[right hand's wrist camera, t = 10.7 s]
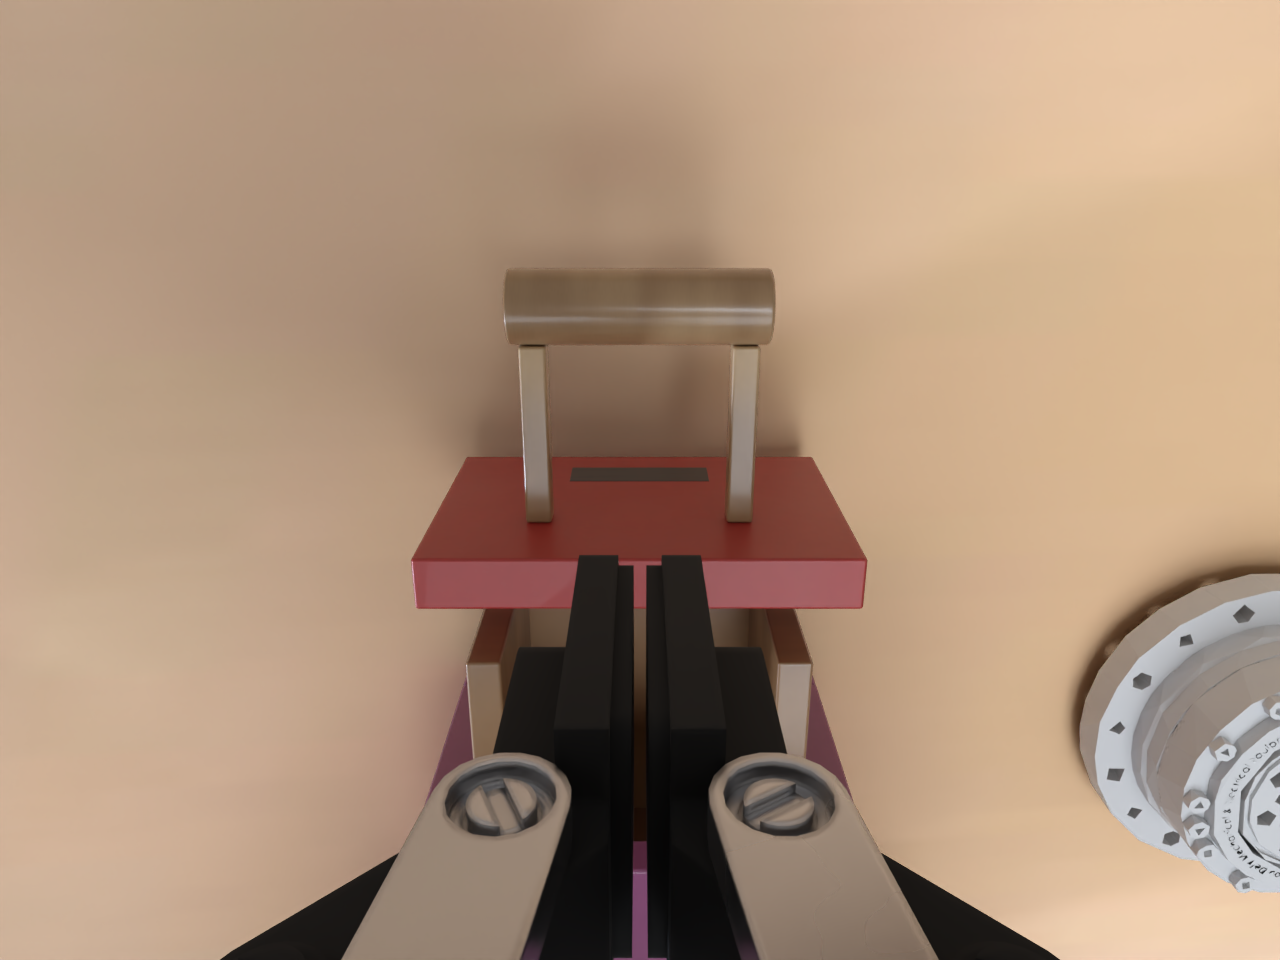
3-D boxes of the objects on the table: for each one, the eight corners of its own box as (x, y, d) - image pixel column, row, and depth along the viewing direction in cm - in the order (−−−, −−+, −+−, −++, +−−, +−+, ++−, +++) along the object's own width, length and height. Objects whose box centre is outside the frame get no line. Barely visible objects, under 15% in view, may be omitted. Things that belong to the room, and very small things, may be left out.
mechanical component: (1102, 864, 31) (1402, 786, 30) (1172, 974, 27) (1523, 888, 26) (1048, 624, 28) (1384, 525, 27) (1119, 708, 24) (1518, 595, 23)
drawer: (451, 245, 23) (382, 284, 17) (827, 245, 23) (895, 284, 17) (491, 801, 29) (451, 977, 23) (788, 801, 29) (827, 977, 23)
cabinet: (468, 665, 29) (401, 871, 21) (810, 666, 29) (876, 871, 21) (492, 974, 33) (445, 1241, 25) (786, 974, 33) (833, 1241, 25)
